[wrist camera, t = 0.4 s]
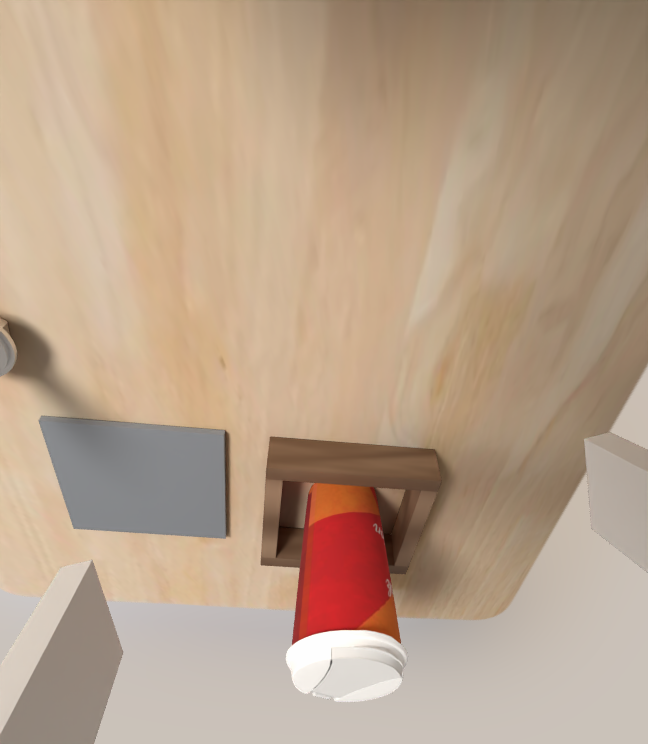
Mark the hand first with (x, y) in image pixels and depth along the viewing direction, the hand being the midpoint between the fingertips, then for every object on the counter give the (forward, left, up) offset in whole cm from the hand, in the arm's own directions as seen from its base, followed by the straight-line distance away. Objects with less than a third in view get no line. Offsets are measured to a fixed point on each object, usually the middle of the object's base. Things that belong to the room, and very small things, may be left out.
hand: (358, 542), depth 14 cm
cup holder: (+22, +3, -19) cm, 30 cm away
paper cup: (+22, +3, -19) cm, 30 cm away
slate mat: (+22, -13, -19) cm, 32 cm away
